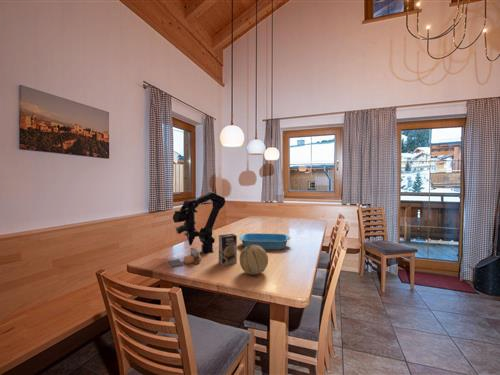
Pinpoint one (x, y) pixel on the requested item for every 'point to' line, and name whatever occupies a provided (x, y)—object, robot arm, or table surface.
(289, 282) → the table surface
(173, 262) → the mat
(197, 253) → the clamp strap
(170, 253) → the table surface
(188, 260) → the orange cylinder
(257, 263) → the cantaloupe
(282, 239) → the casserole dish
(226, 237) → the coffee box
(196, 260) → the clamp blocks
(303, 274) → the table surface
